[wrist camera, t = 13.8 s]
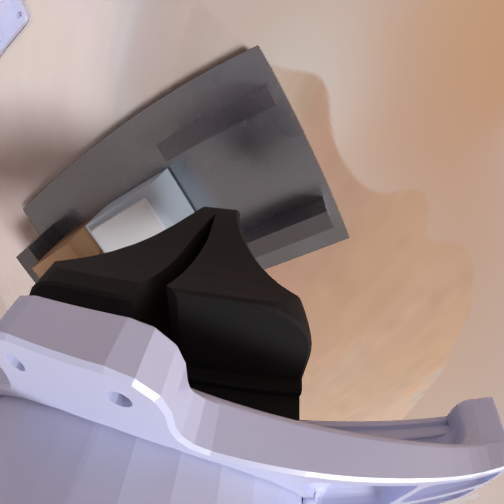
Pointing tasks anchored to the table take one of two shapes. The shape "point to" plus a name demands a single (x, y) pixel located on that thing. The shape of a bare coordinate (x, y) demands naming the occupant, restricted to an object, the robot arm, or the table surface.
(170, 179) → the ram
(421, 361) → the table surface
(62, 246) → the block
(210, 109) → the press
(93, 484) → the robot arm
